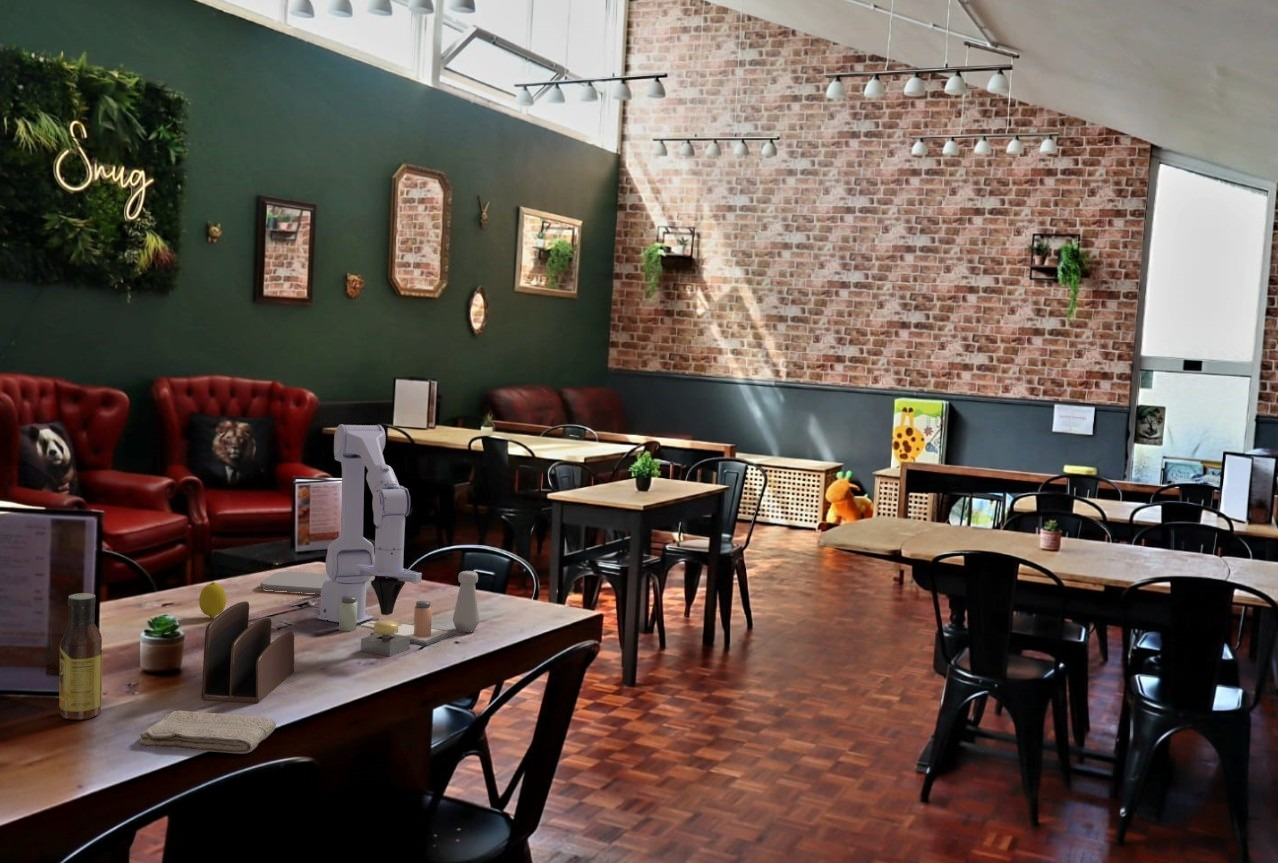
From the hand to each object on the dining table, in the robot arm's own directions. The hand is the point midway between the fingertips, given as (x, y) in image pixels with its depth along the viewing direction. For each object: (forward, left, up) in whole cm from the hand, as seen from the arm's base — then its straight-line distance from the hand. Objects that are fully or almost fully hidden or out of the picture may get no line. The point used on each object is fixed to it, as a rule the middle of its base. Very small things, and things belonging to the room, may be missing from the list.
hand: (386, 613), depth 238 cm
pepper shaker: (+1, +12, -7) cm, 14 cm away
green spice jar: (-16, +9, -7) cm, 20 cm away
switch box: (0, 0, -7) cm, 7 cm away
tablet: (-46, +38, -8) cm, 60 cm away
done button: (0, 0, -6) cm, 6 cm away
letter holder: (-6, -33, -8) cm, 34 cm away
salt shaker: (+5, +23, -8) cm, 25 cm away
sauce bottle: (-17, -60, -8) cm, 63 cm away
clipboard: (-2, +13, -7) cm, 15 cm away
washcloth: (+7, -57, -8) cm, 58 cm away
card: (-13, +15, -7) cm, 21 cm away
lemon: (-45, 0, -8) cm, 46 cm away
